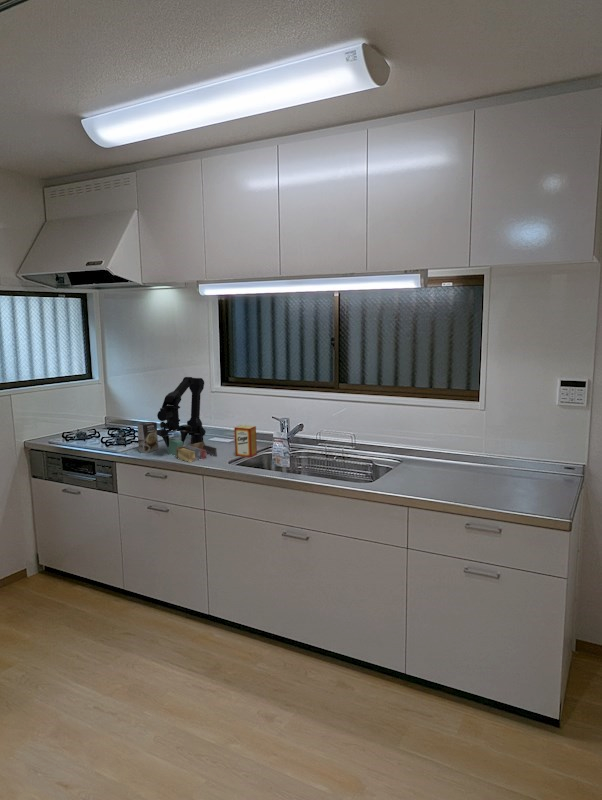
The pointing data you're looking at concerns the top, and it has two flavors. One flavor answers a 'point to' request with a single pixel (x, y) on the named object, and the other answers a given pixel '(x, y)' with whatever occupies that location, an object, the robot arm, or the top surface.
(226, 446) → the top surface
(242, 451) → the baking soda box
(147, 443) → the coffee box
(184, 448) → the book rack
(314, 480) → the top surface
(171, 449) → the green book
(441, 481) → the top surface
